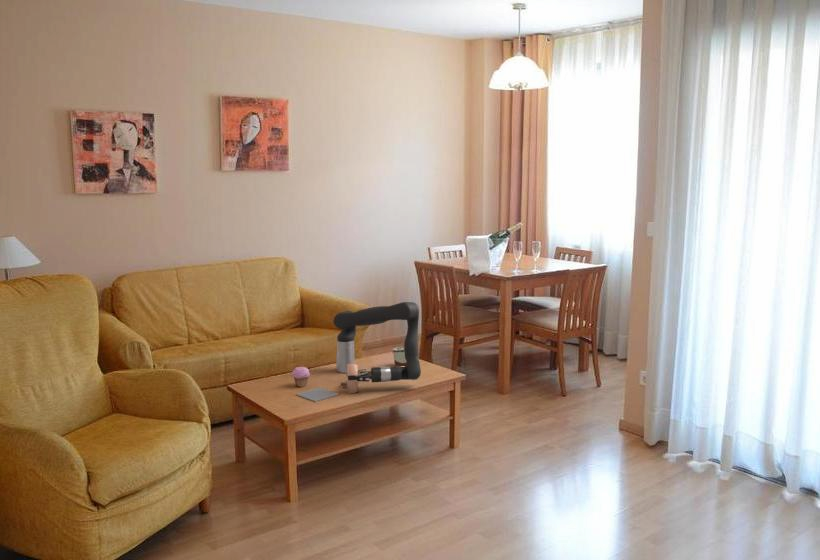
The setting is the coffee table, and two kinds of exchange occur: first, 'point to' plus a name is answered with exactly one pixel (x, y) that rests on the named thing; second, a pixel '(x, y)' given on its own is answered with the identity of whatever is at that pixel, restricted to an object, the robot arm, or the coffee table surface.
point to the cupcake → (301, 376)
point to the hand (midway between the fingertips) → (347, 376)
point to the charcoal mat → (317, 394)
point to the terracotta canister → (352, 384)
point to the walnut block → (344, 383)
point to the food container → (399, 356)
